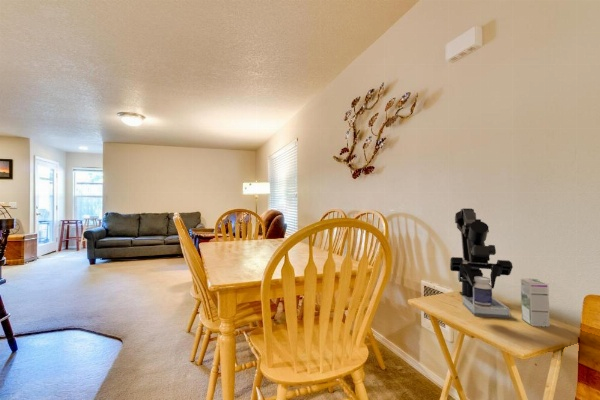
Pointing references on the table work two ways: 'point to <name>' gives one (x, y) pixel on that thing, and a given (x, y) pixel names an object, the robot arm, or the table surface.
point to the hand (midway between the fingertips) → (482, 287)
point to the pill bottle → (482, 293)
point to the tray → (495, 311)
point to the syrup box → (535, 302)
